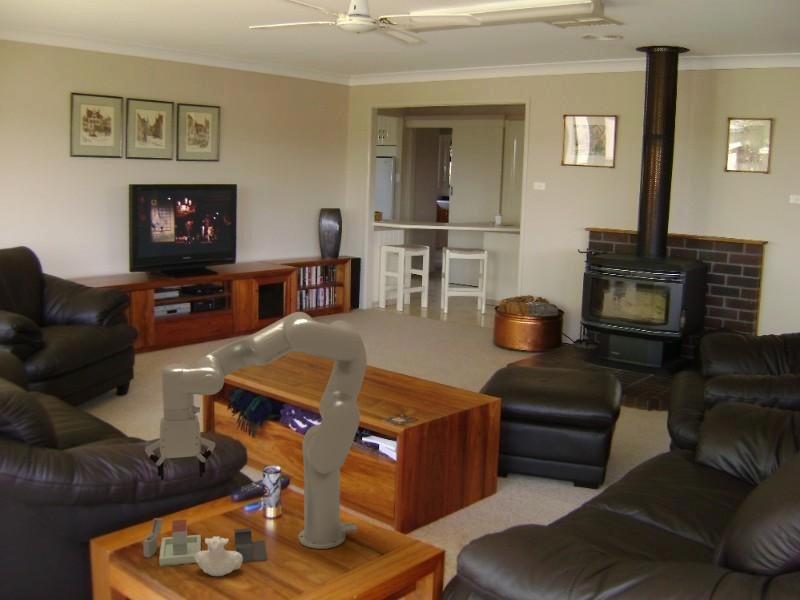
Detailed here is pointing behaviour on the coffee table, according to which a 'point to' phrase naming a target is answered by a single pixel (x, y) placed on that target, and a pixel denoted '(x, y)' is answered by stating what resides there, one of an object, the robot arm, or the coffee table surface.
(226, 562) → the white rounded irregular piece
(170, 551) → the tray
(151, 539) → the lighter
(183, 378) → the robot arm
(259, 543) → the bracket
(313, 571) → the coffee table surface
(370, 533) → the coffee table surface
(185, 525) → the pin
